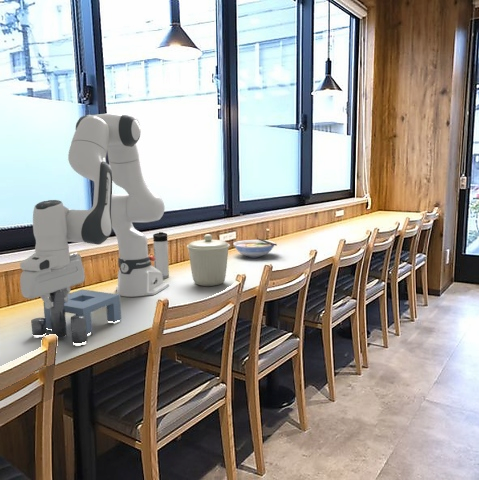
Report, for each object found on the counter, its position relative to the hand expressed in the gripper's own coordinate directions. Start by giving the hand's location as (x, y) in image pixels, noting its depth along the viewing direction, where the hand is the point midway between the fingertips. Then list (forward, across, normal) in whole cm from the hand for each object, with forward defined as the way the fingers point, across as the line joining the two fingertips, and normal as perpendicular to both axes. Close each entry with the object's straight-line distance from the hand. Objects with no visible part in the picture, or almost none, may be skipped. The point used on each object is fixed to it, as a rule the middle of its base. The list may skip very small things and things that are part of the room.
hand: (56, 305), depth 134 cm
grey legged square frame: (+10, -12, -2) cm, 16 cm away
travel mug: (+11, -75, -17) cm, 77 cm away
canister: (+11, -74, +8) cm, 75 cm away
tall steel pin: (+9, 0, 0) cm, 9 cm away
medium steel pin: (+10, 0, +8) cm, 13 cm away
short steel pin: (+10, 0, -8) cm, 13 cm away
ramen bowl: (+12, -134, +2) cm, 134 cm away
